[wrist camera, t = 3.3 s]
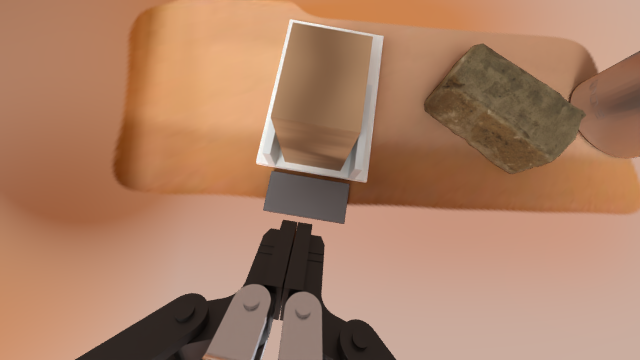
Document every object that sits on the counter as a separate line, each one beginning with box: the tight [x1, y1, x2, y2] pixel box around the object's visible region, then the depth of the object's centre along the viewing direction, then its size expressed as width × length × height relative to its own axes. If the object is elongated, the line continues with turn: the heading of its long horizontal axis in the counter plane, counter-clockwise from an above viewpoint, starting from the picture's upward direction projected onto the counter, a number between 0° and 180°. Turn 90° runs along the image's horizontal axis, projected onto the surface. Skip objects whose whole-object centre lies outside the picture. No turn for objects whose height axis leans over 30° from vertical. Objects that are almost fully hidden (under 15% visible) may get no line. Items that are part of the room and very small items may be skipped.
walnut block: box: [271, 22, 373, 171], centre depth 17 cm, size 5×6×8 cm
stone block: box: [425, 44, 586, 174], centre depth 21 cm, size 6×12×5 cm, turn 50°
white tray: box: [256, 19, 384, 224], centre depth 20 cm, size 10×20×4 cm, turn 171°
